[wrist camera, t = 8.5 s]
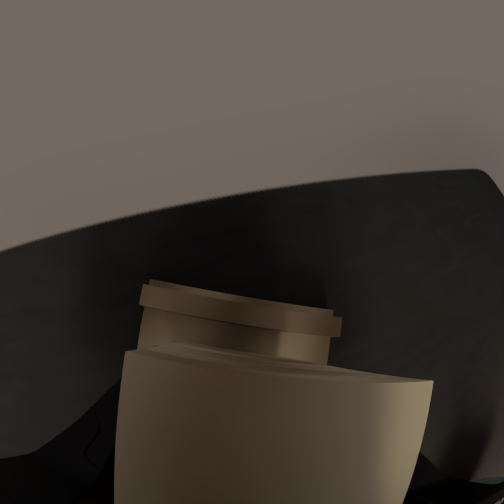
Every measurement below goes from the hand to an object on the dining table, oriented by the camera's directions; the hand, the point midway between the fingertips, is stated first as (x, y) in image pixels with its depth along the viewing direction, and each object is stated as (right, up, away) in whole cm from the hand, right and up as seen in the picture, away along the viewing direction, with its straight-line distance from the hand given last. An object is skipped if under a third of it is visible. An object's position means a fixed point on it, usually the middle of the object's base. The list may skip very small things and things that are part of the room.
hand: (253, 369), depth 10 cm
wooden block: (-1, -3, +6) cm, 7 cm away
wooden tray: (-1, -4, +8) cm, 9 cm away
